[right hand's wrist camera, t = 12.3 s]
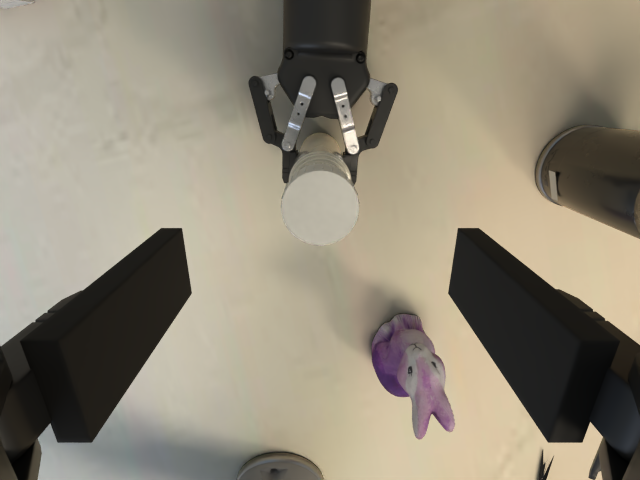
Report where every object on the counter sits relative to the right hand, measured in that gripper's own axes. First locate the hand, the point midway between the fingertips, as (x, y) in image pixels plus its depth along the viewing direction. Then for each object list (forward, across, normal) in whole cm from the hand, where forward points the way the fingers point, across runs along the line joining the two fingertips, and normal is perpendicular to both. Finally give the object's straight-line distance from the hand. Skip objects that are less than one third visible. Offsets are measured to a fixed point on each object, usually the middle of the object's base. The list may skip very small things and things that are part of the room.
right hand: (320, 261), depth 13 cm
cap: (+7, 0, 0) cm, 7 cm away
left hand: (+24, 0, -3) cm, 24 cm away
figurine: (+30, +11, -26) cm, 42 cm away
